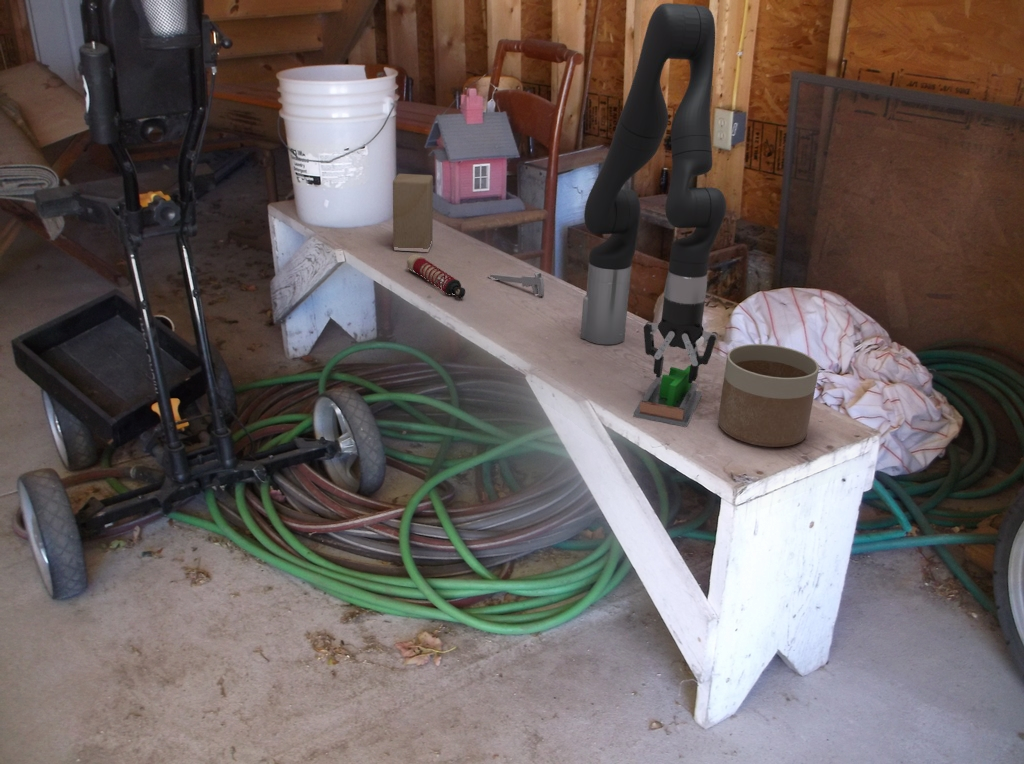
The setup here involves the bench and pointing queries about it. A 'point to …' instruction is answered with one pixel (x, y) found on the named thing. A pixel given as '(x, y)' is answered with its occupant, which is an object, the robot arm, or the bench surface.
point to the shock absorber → (435, 275)
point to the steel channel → (659, 411)
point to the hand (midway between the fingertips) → (674, 378)
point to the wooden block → (412, 211)
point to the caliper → (525, 281)
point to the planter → (767, 394)
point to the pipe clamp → (674, 385)
